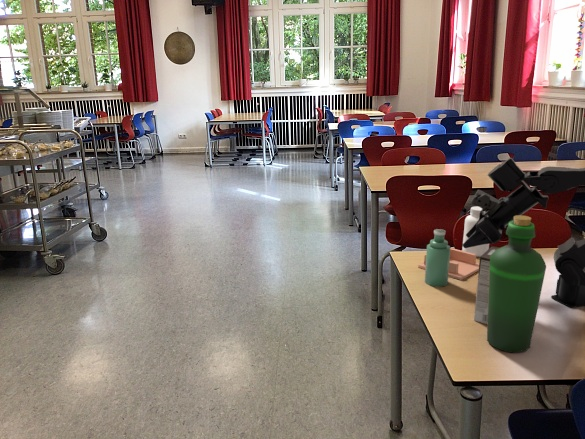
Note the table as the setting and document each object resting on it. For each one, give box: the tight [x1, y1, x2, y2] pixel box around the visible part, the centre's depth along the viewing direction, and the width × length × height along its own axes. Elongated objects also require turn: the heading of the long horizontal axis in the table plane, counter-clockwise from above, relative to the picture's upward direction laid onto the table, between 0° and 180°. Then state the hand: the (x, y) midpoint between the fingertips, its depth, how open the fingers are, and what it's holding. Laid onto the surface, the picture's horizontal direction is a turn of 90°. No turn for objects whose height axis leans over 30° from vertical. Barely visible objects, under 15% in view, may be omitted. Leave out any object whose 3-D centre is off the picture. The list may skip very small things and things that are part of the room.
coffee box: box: [473, 245, 501, 325], centre depth 114 cm, size 9×6×16 cm
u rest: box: [418, 247, 479, 281], centre depth 147 cm, size 14×14×4 cm
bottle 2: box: [486, 215, 547, 353], centre depth 101 cm, size 11×11×28 cm
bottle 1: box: [424, 228, 452, 288], centre depth 135 cm, size 6×6×15 cm
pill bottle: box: [461, 206, 490, 258], centre depth 157 cm, size 8×8×15 cm
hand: (465, 241), depth 131 cm, fingers open, 9 cm apart
